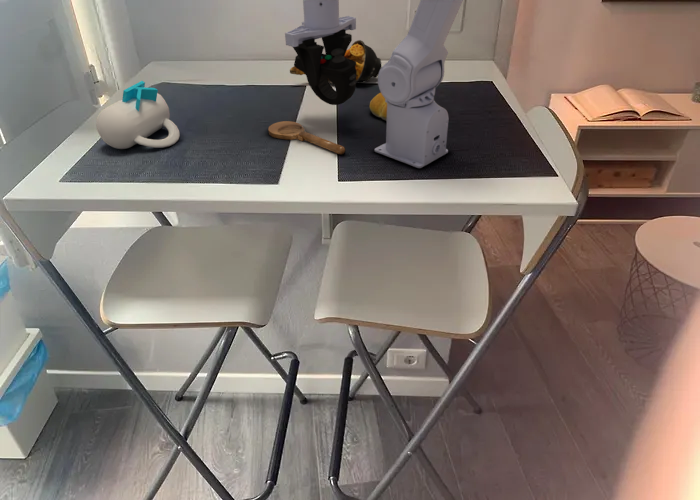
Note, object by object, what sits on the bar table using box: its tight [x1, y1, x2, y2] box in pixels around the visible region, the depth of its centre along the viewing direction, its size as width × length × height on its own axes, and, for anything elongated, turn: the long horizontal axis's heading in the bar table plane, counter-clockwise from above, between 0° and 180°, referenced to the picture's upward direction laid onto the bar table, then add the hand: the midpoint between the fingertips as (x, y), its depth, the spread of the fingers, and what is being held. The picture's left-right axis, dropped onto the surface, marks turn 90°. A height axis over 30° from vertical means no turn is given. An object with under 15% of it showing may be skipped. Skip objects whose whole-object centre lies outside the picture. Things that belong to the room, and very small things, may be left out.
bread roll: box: [369, 92, 387, 122], centre depth 106 cm, size 8×9×4 cm
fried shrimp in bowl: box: [289, 39, 382, 85], centre depth 118 cm, size 9×11×18 cm
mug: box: [95, 80, 181, 150], centre depth 95 cm, size 12×9×12 cm
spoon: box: [267, 120, 346, 155], centre depth 97 cm, size 17×6×1 cm, turn 47°
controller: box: [293, 48, 357, 106], centre depth 98 cm, size 4×12×10 cm, turn 50°
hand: (324, 80), depth 98 cm, fingers closed on controller, 4 cm apart
